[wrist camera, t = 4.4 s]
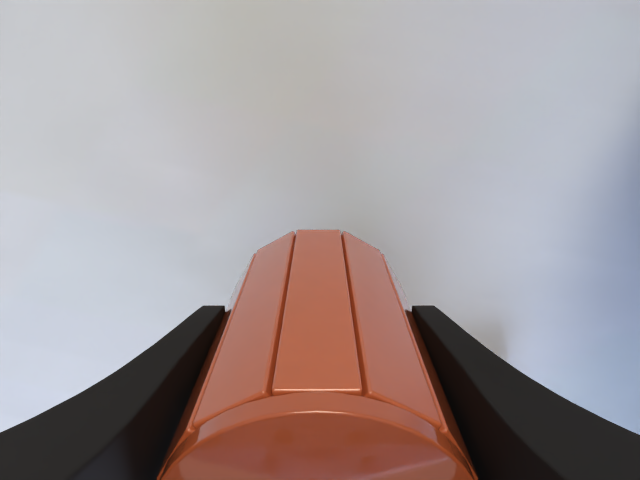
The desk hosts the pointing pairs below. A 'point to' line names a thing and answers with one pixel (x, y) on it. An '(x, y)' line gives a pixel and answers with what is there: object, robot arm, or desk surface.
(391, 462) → the cup
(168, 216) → the desk surface
